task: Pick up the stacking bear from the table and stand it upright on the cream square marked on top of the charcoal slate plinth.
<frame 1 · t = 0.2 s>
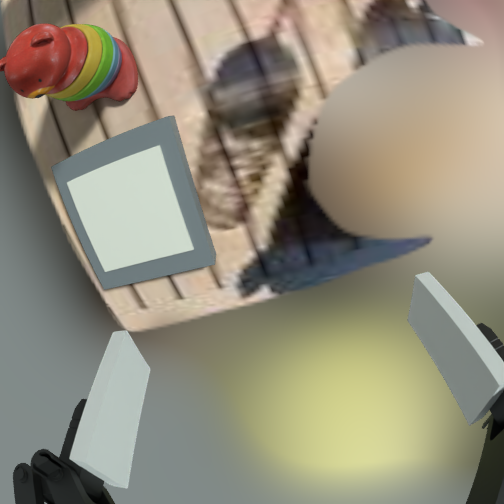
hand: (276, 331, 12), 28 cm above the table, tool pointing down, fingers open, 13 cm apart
stacking bear: (101, 70, 28), on the table
slate plinth: (134, 206, 37), on the table
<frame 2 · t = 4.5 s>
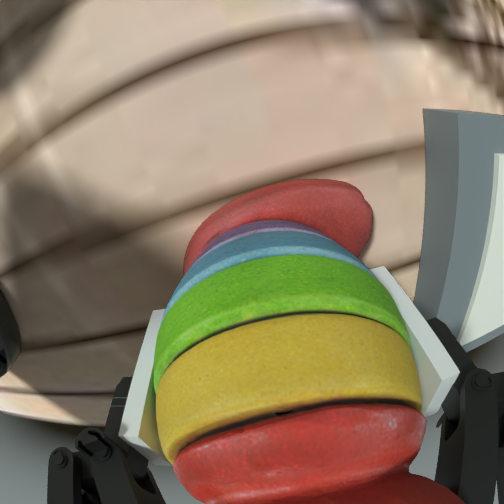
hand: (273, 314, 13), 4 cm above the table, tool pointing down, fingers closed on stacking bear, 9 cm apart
stacking bear: (271, 269, 16), on the table, touching gripper
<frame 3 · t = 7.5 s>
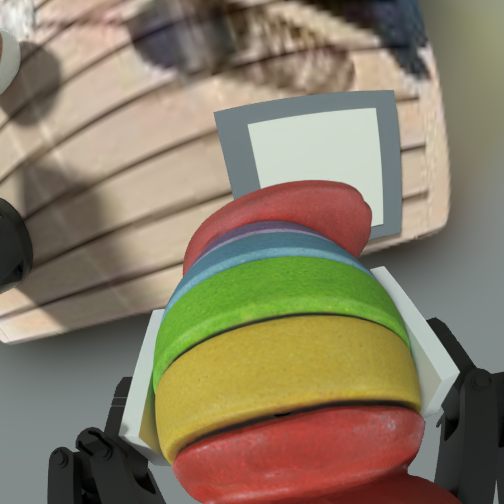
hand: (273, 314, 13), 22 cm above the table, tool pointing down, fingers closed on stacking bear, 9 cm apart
stacking bear: (271, 270, 16), point 19 cm above the table, touching gripper
lidded jar: (7, 66, 21), on the table
slate plinth: (316, 170, 33), on the table
when the fingers open (8 cm above the table, at t = 10.9 s): stacking bear drops 1 cm, resting on slate plinth.
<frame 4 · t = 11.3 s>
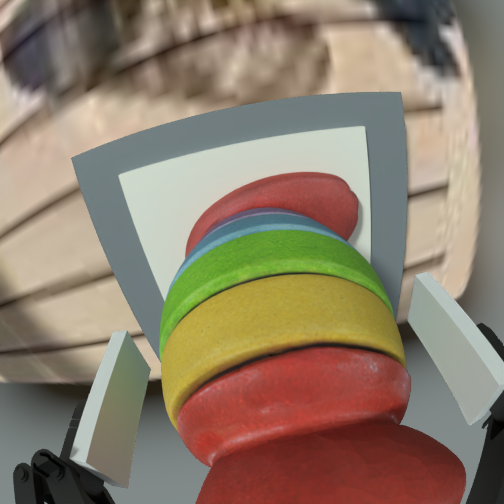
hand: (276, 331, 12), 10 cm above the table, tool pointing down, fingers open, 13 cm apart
stacking bear: (266, 257, 18), point 3 cm above the table, touching slate plinth
slate plinth: (258, 235, 21), on the table
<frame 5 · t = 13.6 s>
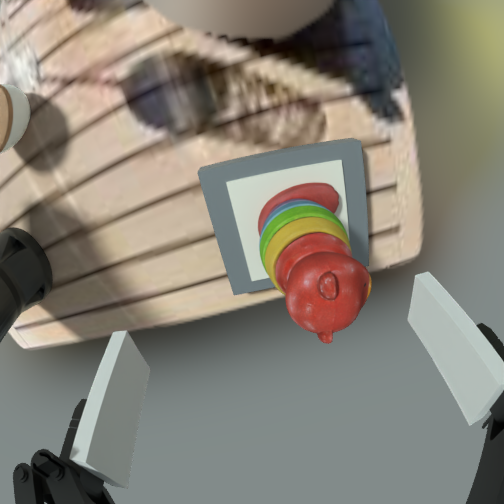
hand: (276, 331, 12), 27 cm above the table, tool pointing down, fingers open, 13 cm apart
stacking bear: (296, 223, 36), point 3 cm above the table, touching slate plinth
lidded jar: (18, 115, 29), on the table
slate plinth: (290, 214, 39), on the table
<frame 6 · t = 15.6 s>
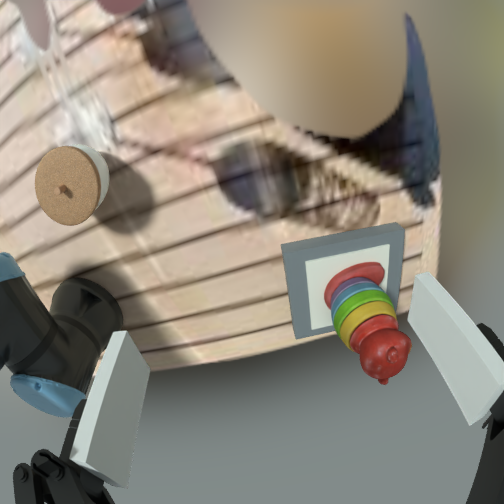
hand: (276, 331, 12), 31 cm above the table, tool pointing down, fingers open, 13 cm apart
stacking bear: (350, 289, 46), point 3 cm above the table, touching slate plinth
lidded jar: (89, 173, 37), on the table
slate plinth: (343, 279, 49), on the table
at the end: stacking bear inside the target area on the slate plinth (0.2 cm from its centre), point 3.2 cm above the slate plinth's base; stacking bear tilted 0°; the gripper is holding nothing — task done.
